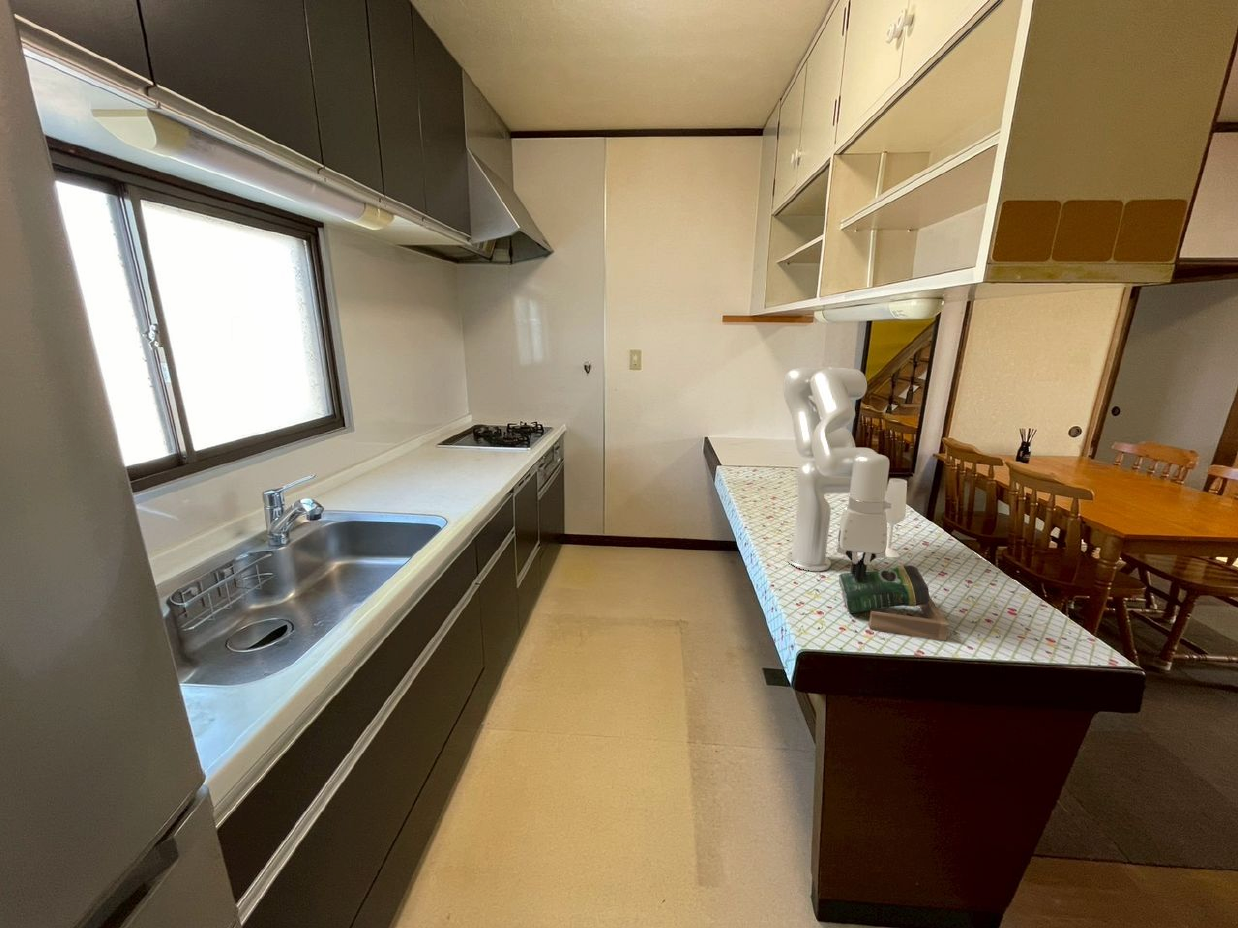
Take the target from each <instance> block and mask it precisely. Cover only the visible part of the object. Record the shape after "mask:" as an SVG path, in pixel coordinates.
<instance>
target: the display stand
mask: <svg viewBox="0 0 1238 928" xmlns="http://www.w3.org/2000/svg"><path fill="white" fill-rule="evenodd" d="M929 598H930V601H929V602H928V603H927V604H924V605H919V606H918V608H919V607H920V608H919V610H920V609H921V610H920V612H921V613H922V612H923V613H922V615H923V614H924V615H923V616H925V617H917V616H910V615H903V614H897V613H889V612H882V611H877V610H876V611H875V610H870V614H869V619H868V620H869V621H868V628H870V629H872V631H877V630H878V631H877V632H883V631H884V632H885V633H891V634H898V635H903V636H904V635H905V636H912V637H918V638H925V639H931V640H937V639H939V640H938V641H944V640H947V637H948V636H947V635H948V629H949V623H948V622H947V620H946V619H945V617H944V616H943V614H942V613H941V611H940V610H939V608H938V606H937V605H936V603H935V601H934V600H933V599H932V597H931V595H929ZM870 629H869V630H870Z"/></svg>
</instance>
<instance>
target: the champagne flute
mask: <svg viewBox="0 0 1238 928" xmlns="http://www.w3.org/2000/svg"><path fill="white" fill-rule="evenodd" d="M907 489H908V481H907V480H906V479H903V478H895V477H894V478H889V479H888V482H887V487H886V495H885V501H886V502H888V503H891V508H887V509H885V510H884V511H885V512H886V516H887V524H889V525H888V526H889V527H888V530H887V545H886V550H885V553H886V558H887V557H888V558H898V557H900V554H899V552H897V551H896V550H895V549H893V548H892V547H891V546H892V540H893V534H894V533H893V531H894V526H895V525H897V524H900V523H901V522H902V521H903V520H904V519H905V518H906V517H907V516H906V515H907V514H906V512H907V511H906V510H907Z"/></svg>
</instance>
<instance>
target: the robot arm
mask: <svg viewBox="0 0 1238 928" xmlns="http://www.w3.org/2000/svg"><path fill="white" fill-rule="evenodd" d="M867 390H868V383H867V379H866V376H865V374H864V373H863V372H862V371H861V370H859V369H857V368H848V367H847V368H846V367H837V366H836V367H834V366H833V367H832V366H831V367H829V366H825V367H821V366H819V367H817V366H813V367H812V366H807V367H806V366H805V367H797V368H793V369H790V370H789V371H788V372H787V373H786V374H785V376H784V380H783V395H784V400H785V403H786V406H787V408H788V410H789V413H790V415H791V417H792V424H793V425H792V426H793V431H794V432H793V433H794V438H795V445H796V449H797V451H798V454H799V456H800V457H802V458H806V459H814V460H810V461H806V462H803V463H801V464H800V465H799V466H798V467H797V468H796V469H797V470H796V473H795V480H796V508H795V509H796V511H795V518H794V519H795V521H794V527H793V528H794V529H793V541H792V548H791V551H790V552H788V553H787V554H786V556H785V560H786V562H787V561H788V562H789V563H790V564H789V563H788V562H787V563H788V564H789V565H791V564H792V565H794V566H795V567H794V566H793V567H794V568H796V567H797V569H799V568H800V570H803V569H804V570H803V571H808V570H809V571H808V572H822V571H826V570H828V569H829V568H831V564H832V562H831V560H830V559H829V558H828V557H827V549H828V540H829V539H828V538H829V530H830V522H831V513H832V510H831V504H830V503H829V502H828V500H827V499H826V498H825V495H829V494H830V495H831V494H849V498H848V507H847V506H846V507H844V509H843V510H842V511H843V512H842V514H841V519H840V523H839V528H838V537H837V543H838V544H837V547H836V548H835V549H836V553H837V554H838V553H839V554H841V555H843V556H847V558H848V559H849V560H850V561H851V567H850V573H851V574H853V576H854V578H855V579H858V578H859V579H860V580H863V576H866V572H867V568H868V565H870V563H871V562H872V561H874V560H875V559H881V558H882V559H883V558H885V557H886V553H885V550H886V545H887V538H888V523H887V516H886V512H885V511H884V510H885V509H887V508H891V503H888V502H886V501H885V495H886V491H887V487H888V480H889V479H888V477H889V471H890V459H889V458H888V457H887V456H886V455H883V454H881V453H880V454H879V453H877V452H876V451H875V450H874V449H872V448H870V447H856V443H855V439H854V436H853V434H852V432H851V431H850V430H849V429H847V428H846V427H847V425H849V424H850V423H851V422H853V420H854V419H855V417H856V411H855V408H854V404H853V402H852V401H856V400H860V399H862V398H863V397H864V396H865V395H866V392H867ZM809 396H810V397H813V398H814V401H813V400H812V399H811V398H810V397H809ZM859 553H862V555H861V558H860V559H859V555H858V554H859ZM886 558H887V557H886ZM792 565H791V566H792Z"/></svg>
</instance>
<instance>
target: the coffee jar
mask: <svg viewBox="0 0 1238 928" xmlns="http://www.w3.org/2000/svg"><path fill="white" fill-rule="evenodd" d="M838 579H839V580H838V583H839V587H840V588H841V589H840V590H841V596H842V599H843V600H842V601H843V603H844V606H845V609H847V612H849V613H850V614H853V613H862V612H867V611H874V610H878V609H879V610H880V609H885V608H894V607H919V605H924V604H927V603H928V602H929V601H930V598H929V596H930V590H929V586H928V585H927V583H926V582H925V581H926V580H925V579H924V578H923V576H922V575H921V573H920V570H919V568H917V567H916V566H915V565H900V566H897V567H894V568H889V569H883V570H873V571H866V576H863V580H860V579H859V578H858V579H855V578H854V576H853V574H851V572H846V573H840V574H839V575H838Z"/></svg>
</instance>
